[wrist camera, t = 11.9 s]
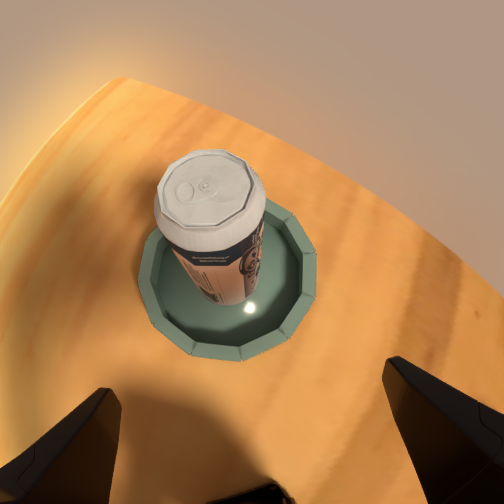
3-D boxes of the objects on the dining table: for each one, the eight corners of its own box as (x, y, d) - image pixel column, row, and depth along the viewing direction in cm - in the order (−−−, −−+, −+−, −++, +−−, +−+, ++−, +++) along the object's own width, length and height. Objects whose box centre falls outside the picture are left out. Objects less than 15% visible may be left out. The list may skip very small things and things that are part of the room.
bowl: (186, 385, 20) (177, 388, 17) (134, 243, 24) (122, 229, 21) (336, 314, 22) (347, 308, 19) (265, 188, 26) (266, 170, 24)
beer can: (267, 296, 21) (285, 219, 10) (206, 315, 21) (157, 258, 10) (247, 240, 23) (245, 130, 12) (190, 258, 22) (141, 160, 11)
